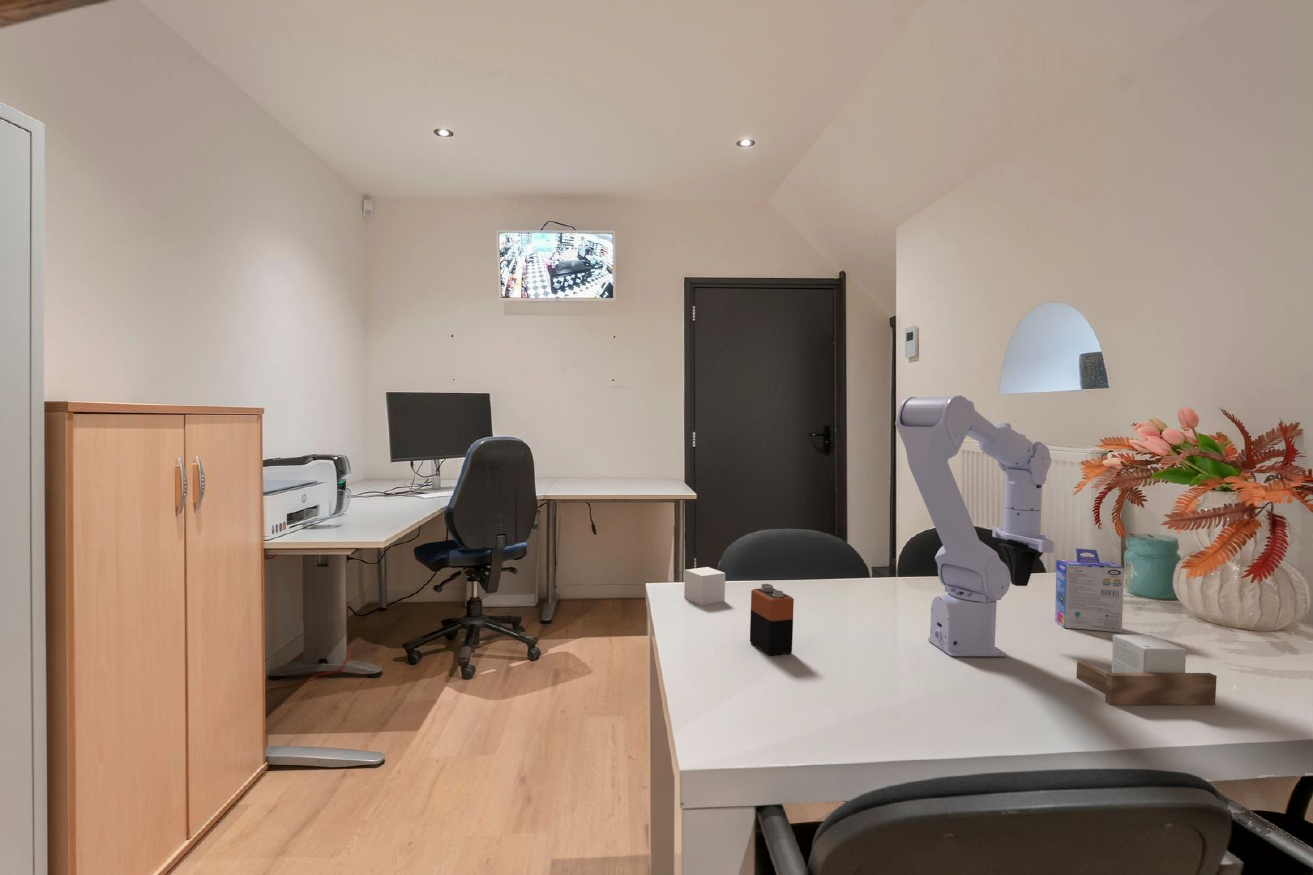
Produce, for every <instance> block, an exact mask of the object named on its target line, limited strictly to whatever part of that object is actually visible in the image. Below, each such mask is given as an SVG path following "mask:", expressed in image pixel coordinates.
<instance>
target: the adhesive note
mask: <svg viewBox="0 0 1313 875" xmlns="http://www.w3.org/2000/svg"><path fill="white" fill-rule="evenodd" d="M683 594H684V595H683V598H684V599H686V600H689V601H691V602H693V603H696V604H698V605H700V606H705V605H709V604H710V605H712V604H716V603H723V602H725V599H726V598H725V596H726V572H724V571H721V570H717V569H715V568H712V567H709V566H705V567H704V566H703V567H698V568H690V569H685V570H684V593H683Z"/></svg>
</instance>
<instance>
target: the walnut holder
mask: <svg viewBox="0 0 1313 875" xmlns="http://www.w3.org/2000/svg"><path fill="white" fill-rule="evenodd" d="M1217 676H1218V675H1215V674H1213V673H1211V672H1185V673H1112V672H1105V671H1103V670H1101V669H1099V668H1097V667H1095V666H1093V665H1091V664H1089V663H1087V662H1085V661H1080V660H1079V661H1077V662H1076V677H1075V678H1076V679H1078V680H1080V682H1083V683H1085V684H1086V685H1089V686H1090V687H1092V688H1094V689H1095V690H1097V689H1098V690H1097V691H1099V690H1100V691H1099V692H1101V693H1102V694H1104V693H1105V694H1104V695H1105V696H1104V698H1105V699H1104V702H1105V703H1106V702H1107V703H1106V704H1108V703H1109V704H1108V705H1110V706H1154V705H1155V706H1188V705H1189V706H1202V705H1203V706H1205V705H1206V706H1210V705H1211V706H1216V697H1217V696H1216V695H1217V694H1216V693H1217V679H1218V678H1217ZM1167 704H1168V705H1167ZM1171 704H1172V705H1171ZM1175 704H1177V705H1175ZM1179 704H1181V705H1179Z"/></svg>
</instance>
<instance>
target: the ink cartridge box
mask: <svg viewBox="0 0 1313 875" xmlns="http://www.w3.org/2000/svg"><path fill="white" fill-rule="evenodd" d="M1075 553H1076V560H1069V559H1068V560H1067V559H1056V561H1055V564H1056V565H1055V566H1056V567H1055V568H1056V569H1055V613H1054V616H1055V617H1054V621H1055V622H1056V621H1057V622H1058V623H1057V622H1056V623H1057V624H1058V625H1060V626H1061V625H1062V626H1061V627H1062V628H1066V629H1076V630H1078V629H1079V630H1086V631H1087V630H1089V631H1100V632H1114V633H1122V632H1123V612H1124V611H1123V608H1124V607H1123V606H1124V605H1123V604H1124V580H1125V579H1124V577H1125V568H1124V567H1123V566H1121V565H1118V564H1116V563H1114V562H1111V561H1100V558H1099V554H1098V551H1097V549H1089V548H1088V549H1087V548H1075ZM1084 553H1085V554H1086V553H1088V554H1091V555H1093V556H1082V555H1081V554H1084Z"/></svg>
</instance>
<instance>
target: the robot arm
mask: <svg viewBox="0 0 1313 875" xmlns="http://www.w3.org/2000/svg"><path fill="white" fill-rule="evenodd" d="M894 424H895V427H896V429H897V432H898V434H899V436H900V438H901V441H902V443H903V445H904V448H905V452H906V453H905V454H906V459H907V464H908V467H909V469H910V472H911V474H912V476H913V479H914V481H915V483H916V484H915V485H916V486H917V488H918V490H919V493H920V496H921V497H922V500H923V501H924V504H925V507H926V509H927V512H928V514H929V516H930V518H931V520H932V523H933V526H934V528H935V530H936V532H937V534H938V537H939V540H940V541H941V544H942V546H941V547H939V549H938V550H937V553H936V555H935V556H934V561H935V562H936V566H937V577H938V578H939V581H940V584H941V585H942V586H944V592H945V594H943V595H937V596H935V597H933V600H932V603H931V606H930V628H929V629H930V630H929V632H930V633H929V634H930V635H929V636H928V637H927V640H928V641H929V642H930V643H932V644H933V645H935V646H936V647H937V648H939V649H940V650H941V651H943V652H945V653H946V654H948V655H949V656H951V657H1007V652H1005V651H1003V650H1002V649H1000V648H998V647H997V646H996V628H997V627H996V626H997V624H996V622H997V601H1002V599H1003V597H1004V596H1006V594H1007V593H1008V591H1009V588H1010V586H1011V585H1013V586H1015V587H1028V584H1029V580H1030V579H1031V575H1032V572H1033V570H1034V568H1035V565H1036V563H1037V562H1038V561H1039V559H1040V558H1041V556H1043V554H1044V553H1046V554H1047V553H1051V554H1053V553H1054V550H1055V549H1054V548H1055V541H1054V540H1051V539H1048V538H1047V534H1045V533H1041V527H1042V526H1041V524H1042V505H1043V504H1042V502H1043V499H1042V498H1043V485H1044V484H1046V482H1047V477H1048V476H1047V474H1048V471H1049V469H1050V467H1051V465H1052V464H1051V463H1052V457H1051V452H1050V450H1049V447H1048V446H1047V445H1045V444H1044V443H1043V442H1041V441H1031V440H1030V439H1028V438H1027V437H1026V435H1025V434H1023V433H1019V432H1018V431H1016V430H1014V429H1013V428H1012V424H1010V423H1009V422H999V423H998V422H997V423H992V422H990V421H989V419H987V418H985V417H984V416H983V415H982V414H981V413H979V412H978V411H977V410H975V404H974V402H973V401H971V400H968V398H966V397H965V396H963V395H953V396H934V397H933V396H930V397H929V396H927V397H922V396H921V397H917V396H909V397H906V398H905V399H904V400H903V401H902V402H901V404H900V406H899V409H898V412H897V416H896V419H895V422H894ZM966 437H969V438H971V439H973V440H975V441H976V442H978V446H979V449H980V450H981V452H982V453H984V454H986V455H987V456H989V457H991V458H992V459H994V460H996V461H997V462H998V467H999V468H1000V469H1001V471H1002V472H1005V475H1004V499H1003V526H992V537H993V538H995V539H996V538H998V539H1002V540H1006V542H1005V543H999V544H998V548H999V549H1000V551H1001V553H1002V555H1003V557H1004V560H1005V562H1006V563H1005V562H1004V561H1002V559H1000V557H999V552H998V551H996V550H994V549H993V548H991V546H989V545H987V544H985V543H984V542H983V541H982V540H980V539H979V536H978V534H977V531H976V529H975V526H974V523H973V520H972V519H971V516H970V514H969V511H968V508H967V506H966V504H965V502H964V499H963V497H962V494H961V491H960V489H959V487H958V484H957V482H956V478H955V477H954V474H953V472H952V469H951V465H950V464H949V459H952V458H953V457H955V456H956V455H958V452H959V451H960V449H961V447H962V444H963V443H964V442H965V440H966Z"/></svg>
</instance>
